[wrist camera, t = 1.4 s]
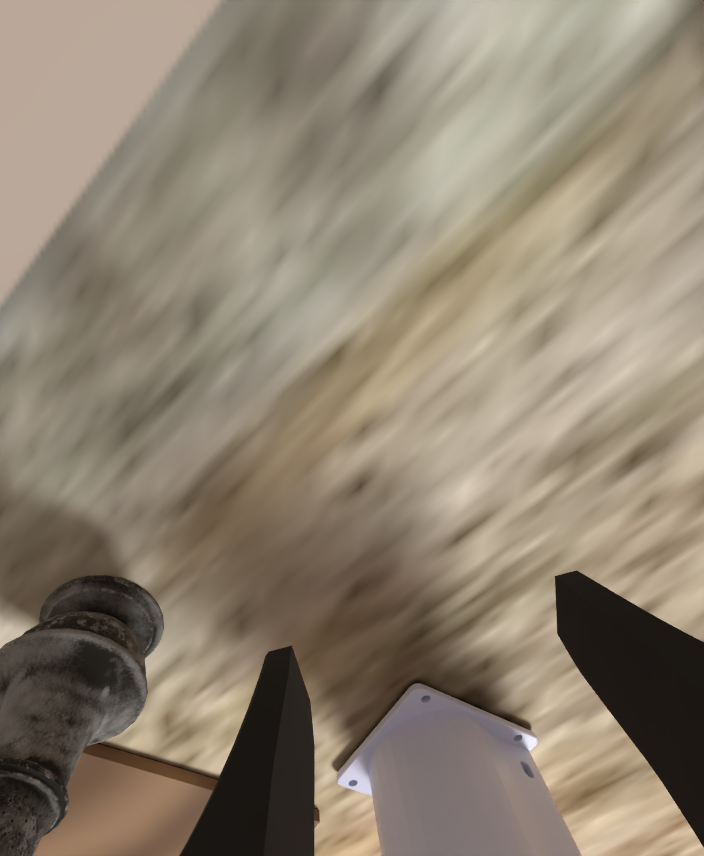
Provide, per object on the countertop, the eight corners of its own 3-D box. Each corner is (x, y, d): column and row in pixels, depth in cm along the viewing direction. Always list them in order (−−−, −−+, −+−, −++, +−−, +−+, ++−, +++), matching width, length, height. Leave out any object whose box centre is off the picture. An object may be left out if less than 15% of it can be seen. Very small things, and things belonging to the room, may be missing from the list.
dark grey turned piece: (34, 670, 20) (-288, 1153, 9) (32, 564, 19) (-367, 996, 7) (165, 675, 21) (25, 1114, 10) (175, 575, 20) (19, 969, 8)
